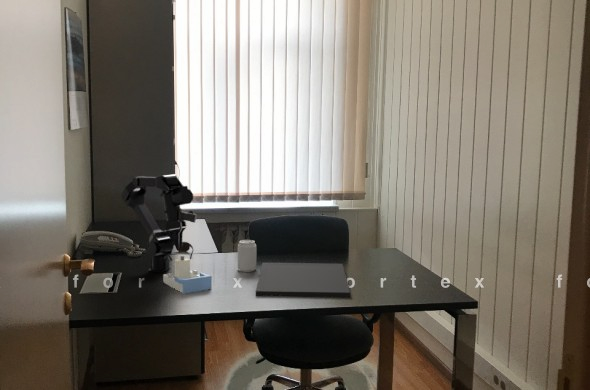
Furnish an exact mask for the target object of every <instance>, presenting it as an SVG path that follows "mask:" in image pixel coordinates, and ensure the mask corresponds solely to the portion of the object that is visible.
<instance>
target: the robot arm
mask: <svg viewBox="0 0 590 390" xmlns="http://www.w3.org/2000/svg"><path fill="white" fill-rule="evenodd" d="M139 187H140V188H139ZM147 187H150V188H151V187H152V188H153V187H154V188H156V189H157V190H161V193H160V194H159V197H160V198H162V199H163V204H164V205H163V206H164V214H165V216H166V221H165V223H164V225H163V229H164V230H162V229H160V227H159V225H158V223H157V222H156V221H155V219H154V217H153V215H152V213H151V212H150V210H149V208H148V207H147V205H146V203H145V201H146V196H145V194H146V193H147ZM121 199H122V201H123V203H124V204H125V205H126V206H127V207H128V208H131V209H132V210H133V211H134V213H135V214H136V216H137V218H138V220H139V221H140V223H141V225H142V226H143V228H144V229H145V231H146V233H147V234H148V236H149V239H148V241H149V242H148V244H149V246H148V248H147V249H146V256H147V257H150V268H149V269H147V270H148V272H153V273H164V272H167V271H169V270H171V267H170V258H169V256H168V255H172V252H173V250H174V247H175V249H176V248H179V246H182V242H183V235H184V231H185V230H186V229H187V226H188V225H187V222H190V223H196V220H197V214H196V213H195V212H194V210H189V211H188V212H185V211H183V209H182V208H181V206H184V205H189V204H191V203H193V201H194V193H193V192H192V190H191V189H189V187H188V185H184V184H183V183H182V182H181V180H180V178H178V176H177V174H174V173H173V174H172V173H171V174H163V175H157V176H145V175H140V176H134V177H133V178H132V180H131V182H129V183H128V184H127V185H126V186H125V187H124V189H123V191H122V193H121ZM173 244H174V247H173ZM172 249H173V250H172Z"/></svg>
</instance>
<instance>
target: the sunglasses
mask: <svg viewBox="0 0 590 390" xmlns="http://www.w3.org/2000/svg"><path fill="white" fill-rule="evenodd" d="M174 247H175V245H174V244H173V249H172V251H173V250H174ZM190 248H191V249H192V251H191V253H190V258H189V260H191V259H192V257H193V252H194V246H193V245H192V243H191V244H190V242H188V241H182V246H179V248H176V247H175V250H176V251H177V252H181V253H182V252H184V253H186V252H188V251H189V250H190ZM168 259H169V261H173V258H172V257H171V254H169V255H168Z"/></svg>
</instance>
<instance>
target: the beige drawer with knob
mask: <svg viewBox="0 0 590 390" xmlns="http://www.w3.org/2000/svg"><path fill="white" fill-rule="evenodd" d="M179 257H180V258H177V259H174V277H176V276H177V277H179V278H181V279H189V278H190V270H191V259H190V258H187V257H185V256H184V255H181V256H179Z"/></svg>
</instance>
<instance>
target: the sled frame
mask: <svg viewBox="0 0 590 390" xmlns="http://www.w3.org/2000/svg"><path fill="white" fill-rule="evenodd" d="M198 273H199V274H198ZM162 277H163V283H164V284H166V285H168V286H169V287H171V288H172V287H173V288H172V289H174V288H175V289H174V290H175V291H177V290H178V291H177V292H179V291H180V292H179V293H181V292H182V293H181V294H182V295H185V294H184V293H187V294H191V293H190V292H193V293H197V291H198V292H203V291H202V290H204V291H209V290H208V289H210V290H212V288H213V287H212V286H213V285H212V283H213V282H212V280H213V279H212V275H210V274H209V275H208V274H206V273H204V272H199V271H198V270H196V269H192V270H191V269H190V278H189V279H181V278H179V277H177V276H176V277H175V276H173V274H172V273H170V272H169V273H167V274H166V273H165V274H163V275H162Z"/></svg>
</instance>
